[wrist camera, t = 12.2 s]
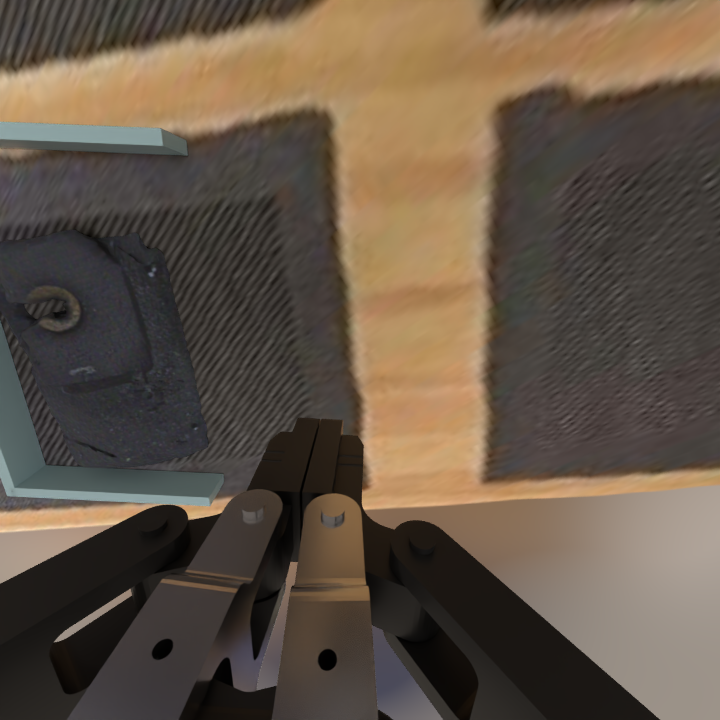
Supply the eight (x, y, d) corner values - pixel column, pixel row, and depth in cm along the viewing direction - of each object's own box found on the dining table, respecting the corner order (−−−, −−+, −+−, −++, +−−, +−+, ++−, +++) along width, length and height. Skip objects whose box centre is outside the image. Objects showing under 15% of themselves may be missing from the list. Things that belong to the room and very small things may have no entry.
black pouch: (77, 460, 38) (37, 492, 33) (-16, 240, 30) (-84, 242, 26) (219, 452, 37) (198, 483, 32) (160, 223, 29) (122, 222, 25)
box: (-73, 130, 27) (-134, 116, 24) (186, 140, 27) (160, 128, 23) (38, 472, 38) (7, 496, 34) (224, 481, 37) (210, 506, 34)
